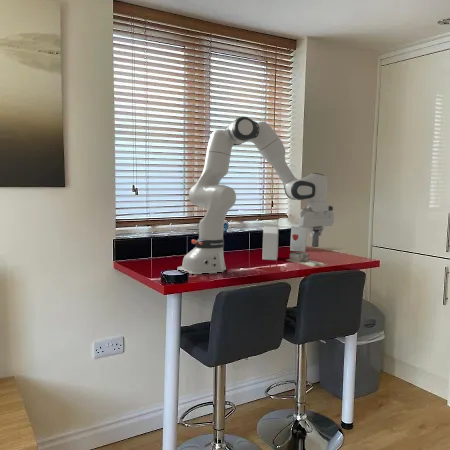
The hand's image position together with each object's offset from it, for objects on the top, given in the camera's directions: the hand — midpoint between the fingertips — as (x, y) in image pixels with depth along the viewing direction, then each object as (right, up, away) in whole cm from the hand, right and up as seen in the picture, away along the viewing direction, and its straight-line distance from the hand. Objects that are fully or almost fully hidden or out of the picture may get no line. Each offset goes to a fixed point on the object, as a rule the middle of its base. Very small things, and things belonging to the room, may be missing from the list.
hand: (315, 236), depth 217 cm
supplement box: (0, -10, +50) cm, 51 cm away
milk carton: (-21, -14, +14) cm, 28 cm away
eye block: (-3, -15, +6) cm, 16 cm away
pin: (0, -5, +1) cm, 5 cm away
